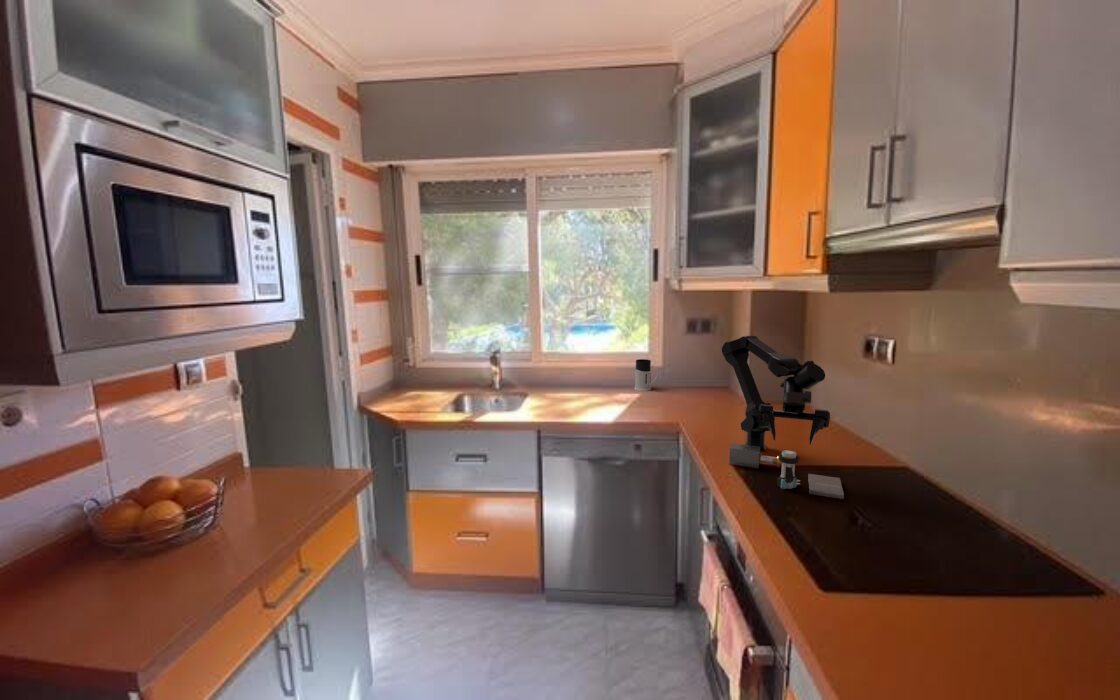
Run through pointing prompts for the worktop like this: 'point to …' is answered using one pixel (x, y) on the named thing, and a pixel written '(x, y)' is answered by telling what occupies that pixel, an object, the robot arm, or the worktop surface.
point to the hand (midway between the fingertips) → (792, 441)
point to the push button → (788, 469)
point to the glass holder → (643, 375)
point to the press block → (744, 455)
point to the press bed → (825, 486)
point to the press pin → (769, 460)
